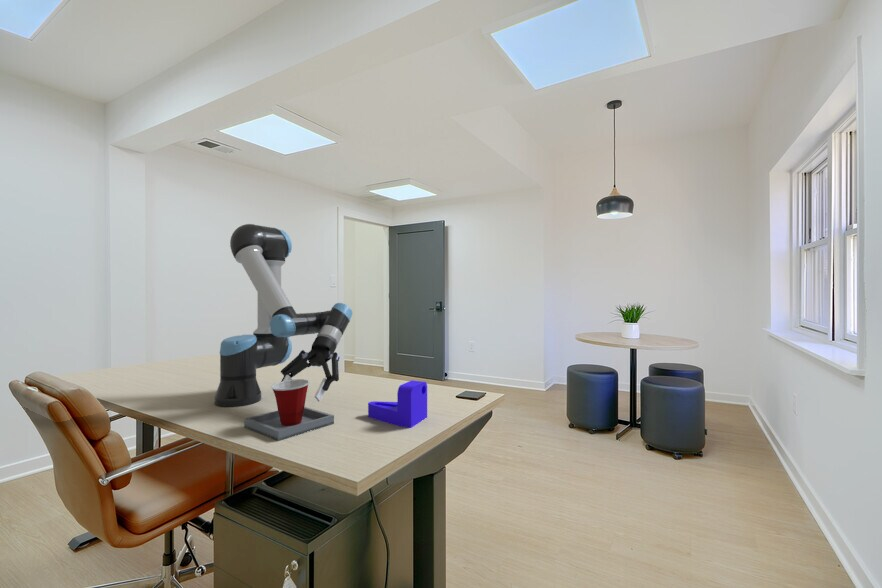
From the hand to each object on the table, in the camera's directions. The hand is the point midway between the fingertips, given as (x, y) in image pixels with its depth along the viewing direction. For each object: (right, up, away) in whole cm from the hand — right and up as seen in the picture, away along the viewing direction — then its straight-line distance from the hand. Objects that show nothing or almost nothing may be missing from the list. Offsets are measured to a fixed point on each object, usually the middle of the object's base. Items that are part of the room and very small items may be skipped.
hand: (297, 397), depth 124 cm
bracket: (+29, -8, +3) cm, 30 cm away
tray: (-1, -8, -3) cm, 8 cm away
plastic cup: (-1, -7, -3) cm, 8 cm away
